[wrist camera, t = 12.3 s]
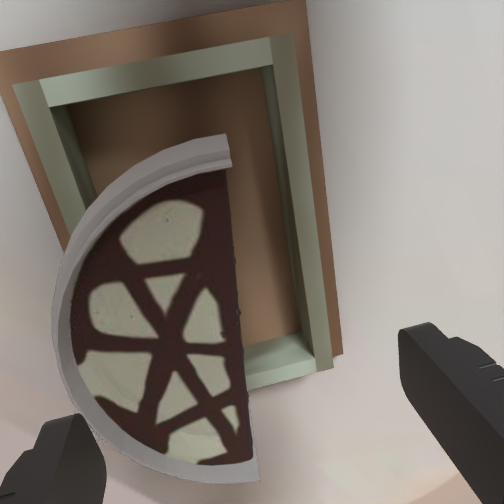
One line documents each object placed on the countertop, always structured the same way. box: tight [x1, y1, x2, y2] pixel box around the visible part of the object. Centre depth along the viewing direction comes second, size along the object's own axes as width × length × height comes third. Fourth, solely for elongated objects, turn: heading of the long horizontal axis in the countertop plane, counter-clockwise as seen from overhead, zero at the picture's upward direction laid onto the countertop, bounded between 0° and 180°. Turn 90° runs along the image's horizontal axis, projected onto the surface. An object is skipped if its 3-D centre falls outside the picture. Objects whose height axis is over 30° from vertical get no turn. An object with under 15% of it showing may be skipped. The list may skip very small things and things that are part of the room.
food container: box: [52, 133, 260, 484], centre depth 17 cm, size 12×6×10 cm, turn 4°
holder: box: [0, 0, 343, 390], centre depth 21 cm, size 14×20×4 cm
